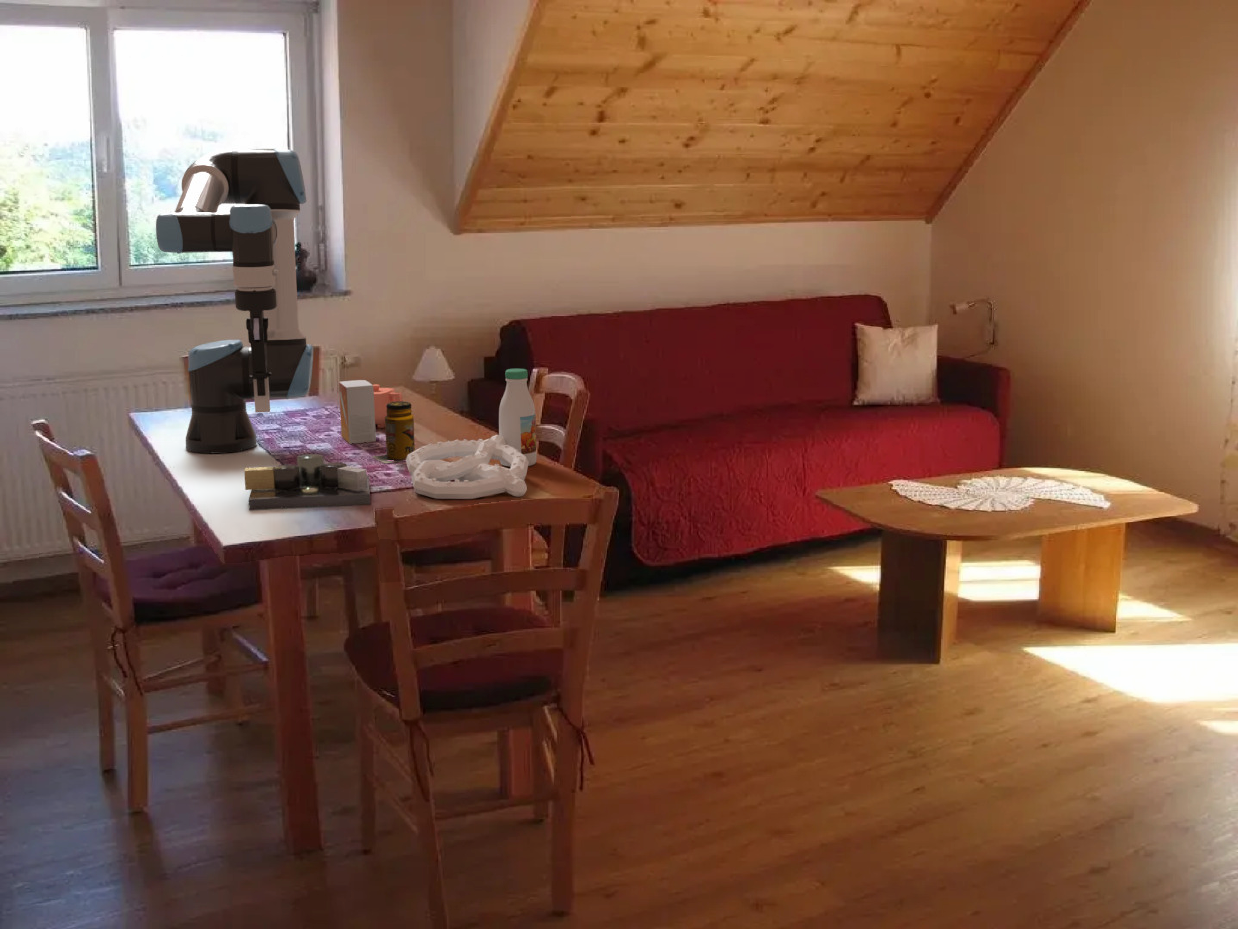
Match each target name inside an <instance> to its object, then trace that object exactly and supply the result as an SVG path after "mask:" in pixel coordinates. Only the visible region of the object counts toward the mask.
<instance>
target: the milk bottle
mask: <svg viewBox="0 0 1238 929" xmlns="http://www.w3.org/2000/svg"><path fill="white" fill-rule="evenodd" d="M504 374H505V381H506V386H505V390H504V392H503V396H502V397H501V400H500V404H499V408H498V435H500V436H502V437H503V438H504V440H505V442H506V444H505V445H509V446H511V447H513V448H514V449H516V450H518V452H520V453H521V454H523V455H524V456H525V457H526V458H527V460H528V462H529V464H528V467H530V466H533V465H535V464H536V463H537V416H536V407H535V403H534V400H533V397H532V396H531V393H530V391H529V388H528V384H527V381H529V380H528V376H529V375H528V374H529V373H528V370H527V369H526V368H508V369H506V370H505V373H504ZM499 462H500V465H501V466H504V467H510V466H509V465H507V464H506V463H505V462H503V461H500V460H499ZM510 468H511V467H510Z"/></svg>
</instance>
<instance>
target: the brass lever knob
mask: <svg viewBox="0 0 1238 929" xmlns="http://www.w3.org/2000/svg"><path fill="white" fill-rule="evenodd" d="M243 473H244V486H245V488H244V489H245V491H251V490H256V489H278V490H290V489H295V488H298V487H300V477H299V466H297V465H295V464H281V465H280V464H279V465H275V466H263V467H262V466H260V467H244V471H243Z"/></svg>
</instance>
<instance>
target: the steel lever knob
mask: <svg viewBox="0 0 1238 929" xmlns="http://www.w3.org/2000/svg"><path fill="white" fill-rule="evenodd" d="M320 467H321V485H322V486H323V487H328V488H336V487H339V488H344V489H349V490H354V491H361V490H364V489H367V475H368V474H367V469H364V468H360V467H353V466H349V465H348V464H347V463H345V462H328V463H327V462H326V463H324V464H323V465H321V466H320Z"/></svg>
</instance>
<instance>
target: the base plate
mask: <svg viewBox="0 0 1238 929" xmlns="http://www.w3.org/2000/svg"><path fill="white" fill-rule="evenodd" d="M324 461H325V460H324V455H323V454H318V453H310V454H309V453H307V454H300V455H298V456H297V457H296V464H297V466H299V477H300V487H298V488H295V489H290V490H278V489H256V490H250V494H249V497H248V509H249V511H254V510H255V511H257V510H277V509H280V510H283V509H299V508H319V507H323V508H324V507H340V506H341V507H343V506H345V507H346V506H361V505H363V506H364V505H366V506H367V505H371V497H370V496H371V494H370V493H371V492H370V475H368V474H367V489H364V490H361V491H354V490H349V489H344V488H339V487H336V488H328V487H323V486H322V485H321V467H320V466H321V465H323V464H325V463H324Z"/></svg>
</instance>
